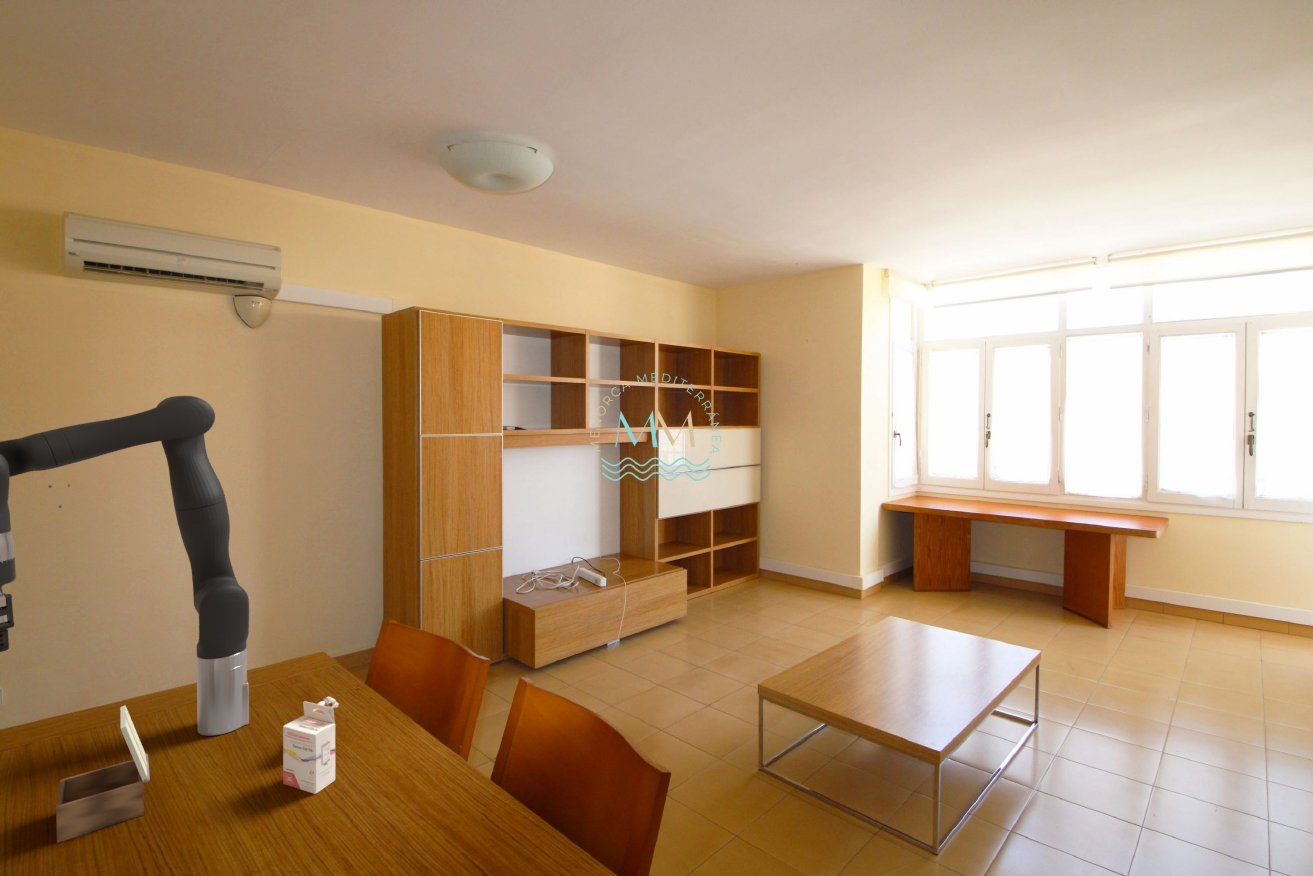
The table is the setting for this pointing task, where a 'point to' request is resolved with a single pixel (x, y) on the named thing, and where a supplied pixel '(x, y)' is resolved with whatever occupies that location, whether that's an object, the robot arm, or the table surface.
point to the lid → (134, 745)
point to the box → (98, 800)
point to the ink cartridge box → (310, 749)
